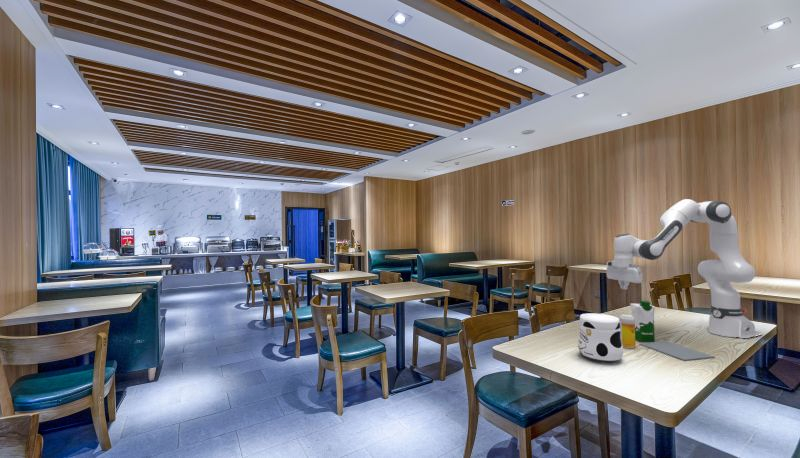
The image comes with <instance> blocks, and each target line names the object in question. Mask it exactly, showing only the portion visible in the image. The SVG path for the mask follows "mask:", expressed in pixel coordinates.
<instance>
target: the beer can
mask: <svg viewBox="0 0 800 458" xmlns="http://www.w3.org/2000/svg"><path fill="white" fill-rule="evenodd" d="M619 321H620V338H621V343H622V346H623V349H629V350H631V349H632V350H633V349H635V348H636V340H635V319H634V316H632V314H620V315H619Z"/></svg>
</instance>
